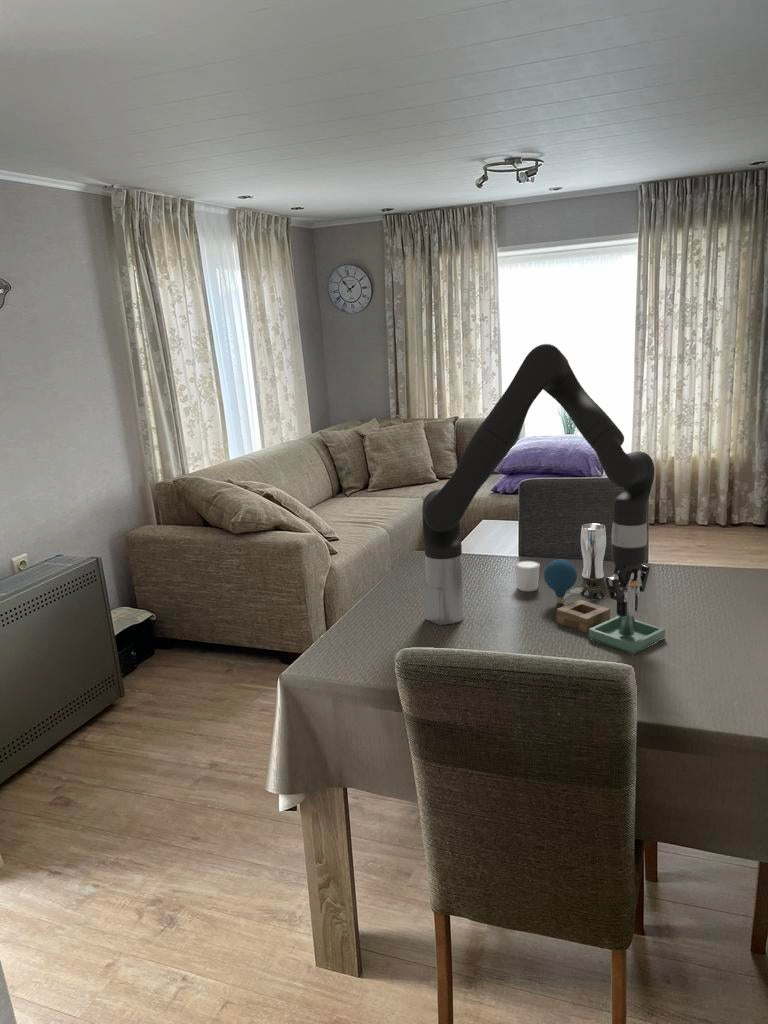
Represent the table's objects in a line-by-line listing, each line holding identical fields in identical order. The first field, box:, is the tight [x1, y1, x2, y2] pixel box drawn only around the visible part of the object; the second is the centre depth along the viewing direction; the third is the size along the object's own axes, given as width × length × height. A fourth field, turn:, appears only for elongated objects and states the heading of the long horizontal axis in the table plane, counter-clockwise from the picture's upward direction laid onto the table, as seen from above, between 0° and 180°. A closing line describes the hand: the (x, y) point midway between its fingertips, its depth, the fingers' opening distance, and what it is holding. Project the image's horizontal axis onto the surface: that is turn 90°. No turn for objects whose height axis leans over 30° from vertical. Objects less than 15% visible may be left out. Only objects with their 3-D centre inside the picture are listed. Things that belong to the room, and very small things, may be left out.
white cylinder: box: [514, 560, 541, 592], centre depth 203 cm, size 7×7×7 cm
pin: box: [618, 580, 638, 636], centre depth 166 cm, size 4×4×13 cm
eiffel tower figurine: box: [564, 554, 606, 602], centre depth 194 cm, size 15×10×13 cm
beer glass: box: [580, 522, 607, 580], centre depth 208 cm, size 7×7×15 cm
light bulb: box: [543, 558, 578, 604], centre depth 190 cm, size 8×8×12 cm
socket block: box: [556, 599, 611, 633], centre depth 178 cm, size 9×9×4 cm
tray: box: [588, 615, 666, 655], centre depth 167 cm, size 12×12×2 cm
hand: (627, 612), depth 166 cm, fingers closed on pin, 3 cm apart
